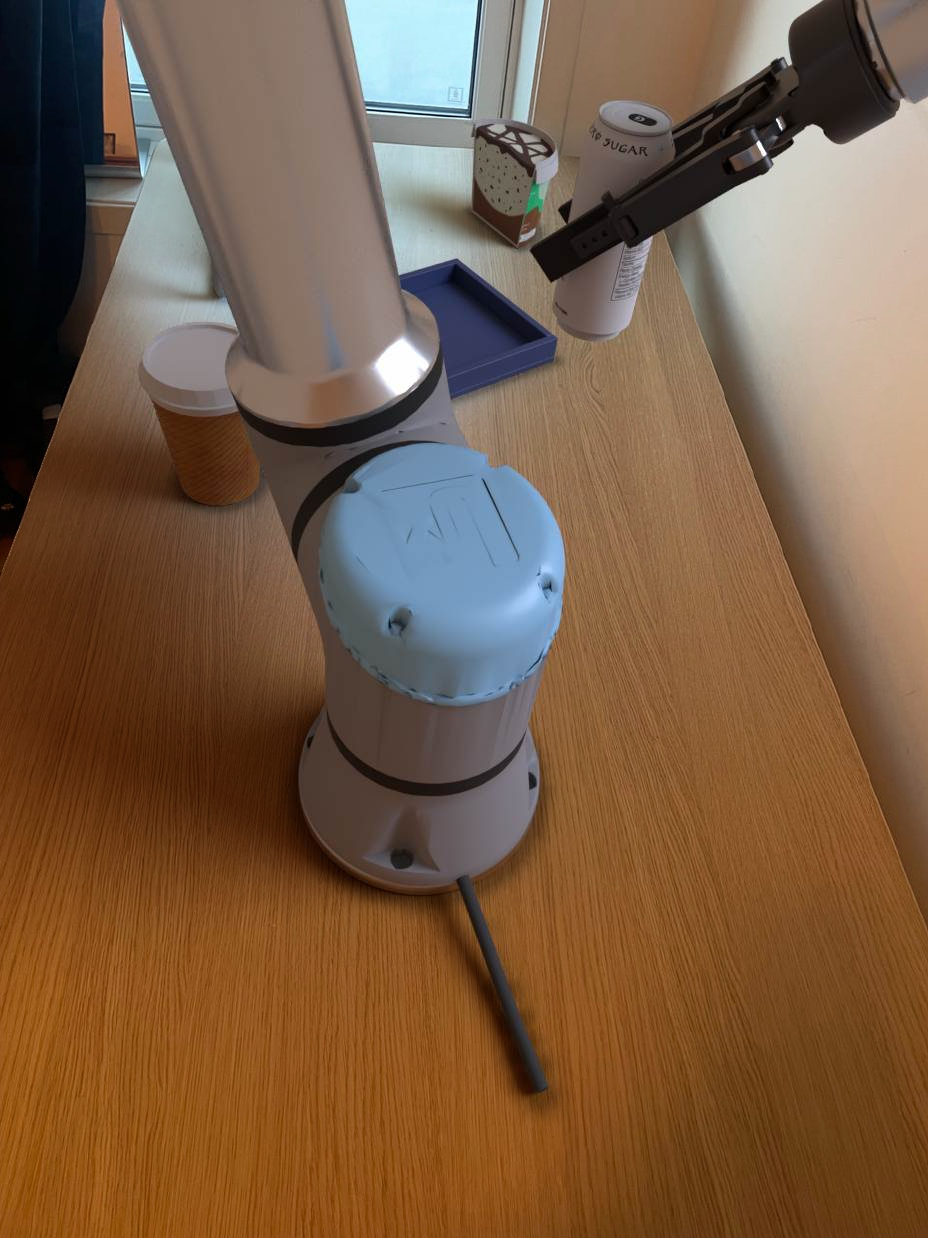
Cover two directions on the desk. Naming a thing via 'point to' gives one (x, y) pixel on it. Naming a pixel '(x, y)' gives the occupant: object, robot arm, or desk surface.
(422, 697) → the robot arm
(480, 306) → the navy tray
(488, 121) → the food container
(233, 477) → the disposable coffee cup
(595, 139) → the energy drink can
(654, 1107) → the desk surface
